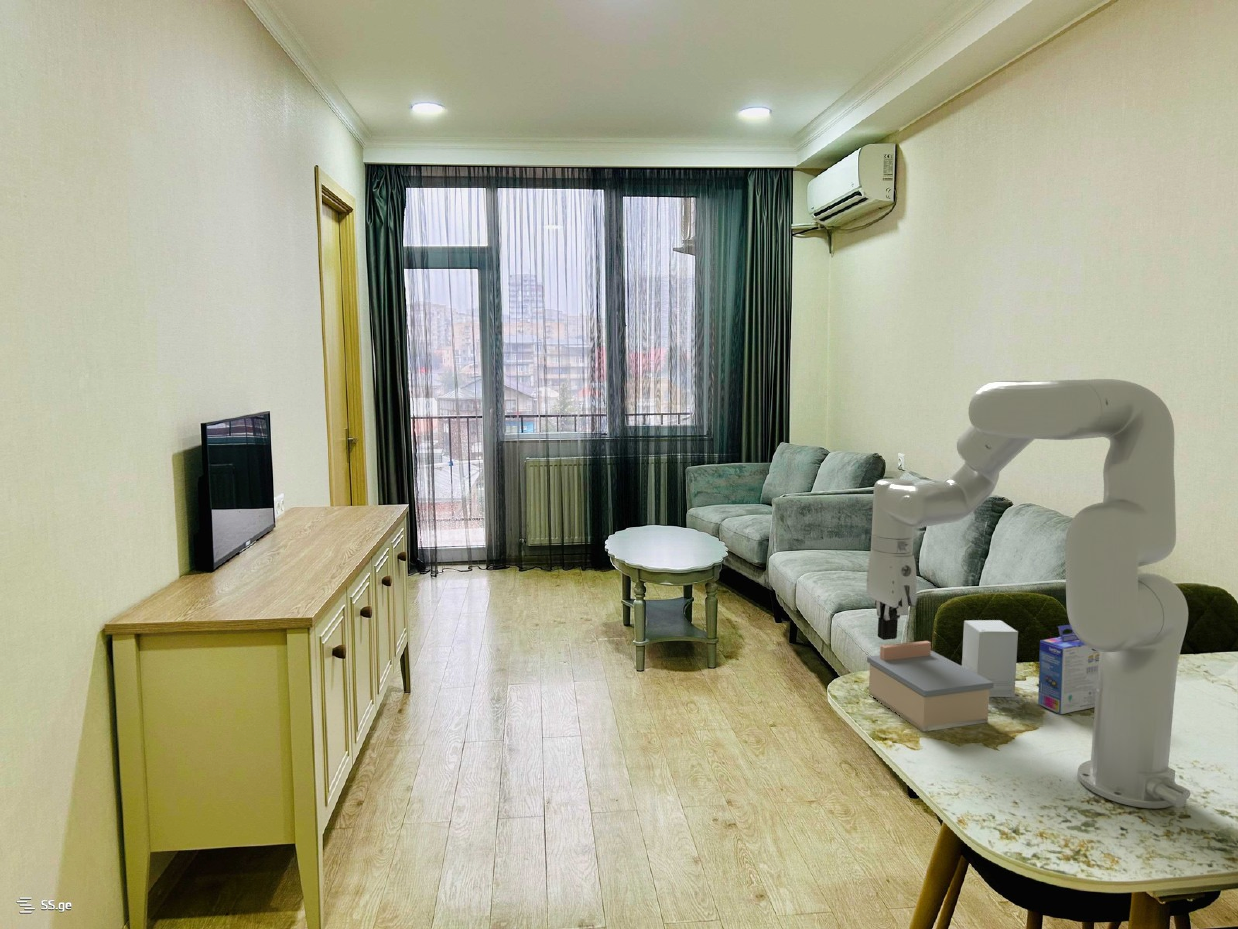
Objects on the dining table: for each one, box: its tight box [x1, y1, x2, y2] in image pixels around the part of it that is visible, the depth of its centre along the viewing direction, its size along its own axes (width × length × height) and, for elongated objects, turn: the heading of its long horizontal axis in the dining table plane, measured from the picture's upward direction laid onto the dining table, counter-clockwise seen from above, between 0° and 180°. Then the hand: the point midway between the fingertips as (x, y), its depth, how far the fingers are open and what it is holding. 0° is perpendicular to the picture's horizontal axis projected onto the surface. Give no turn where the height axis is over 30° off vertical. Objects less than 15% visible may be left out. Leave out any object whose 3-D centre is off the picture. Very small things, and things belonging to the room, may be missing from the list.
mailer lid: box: [866, 640, 994, 697], centre depth 147 cm, size 17×14×3 cm
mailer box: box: [868, 663, 990, 732], centre depth 147 cm, size 16×13×6 cm
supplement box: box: [961, 619, 1019, 698], centre depth 155 cm, size 7×7×13 cm
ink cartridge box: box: [1037, 624, 1101, 715], centre depth 148 cm, size 10×6×14 cm, turn 112°
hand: (887, 637), depth 158 cm, fingers closed
